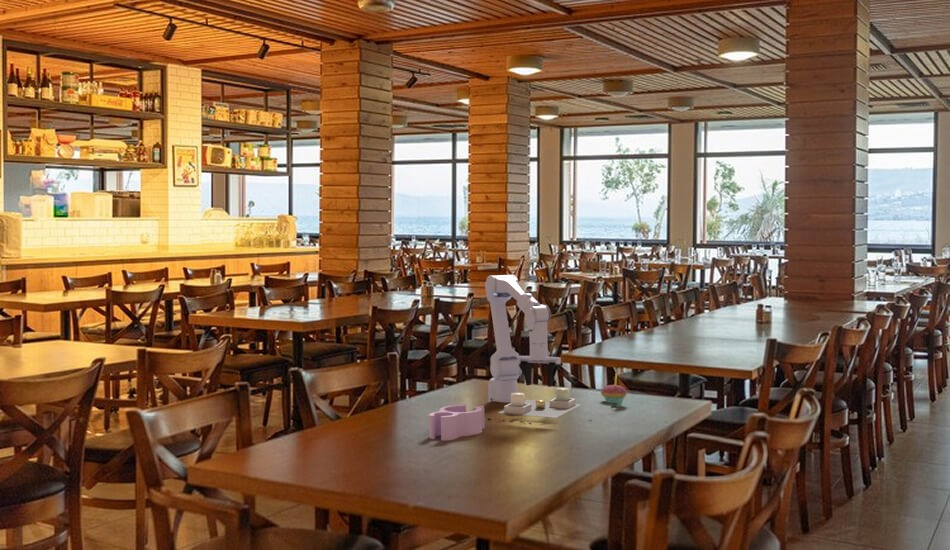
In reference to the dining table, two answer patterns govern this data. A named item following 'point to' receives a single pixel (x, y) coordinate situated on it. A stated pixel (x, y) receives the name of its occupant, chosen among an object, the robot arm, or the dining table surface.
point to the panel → (551, 409)
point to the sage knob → (562, 394)
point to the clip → (456, 422)
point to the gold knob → (540, 404)
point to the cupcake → (614, 393)
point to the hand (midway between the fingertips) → (539, 385)
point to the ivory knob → (517, 399)
